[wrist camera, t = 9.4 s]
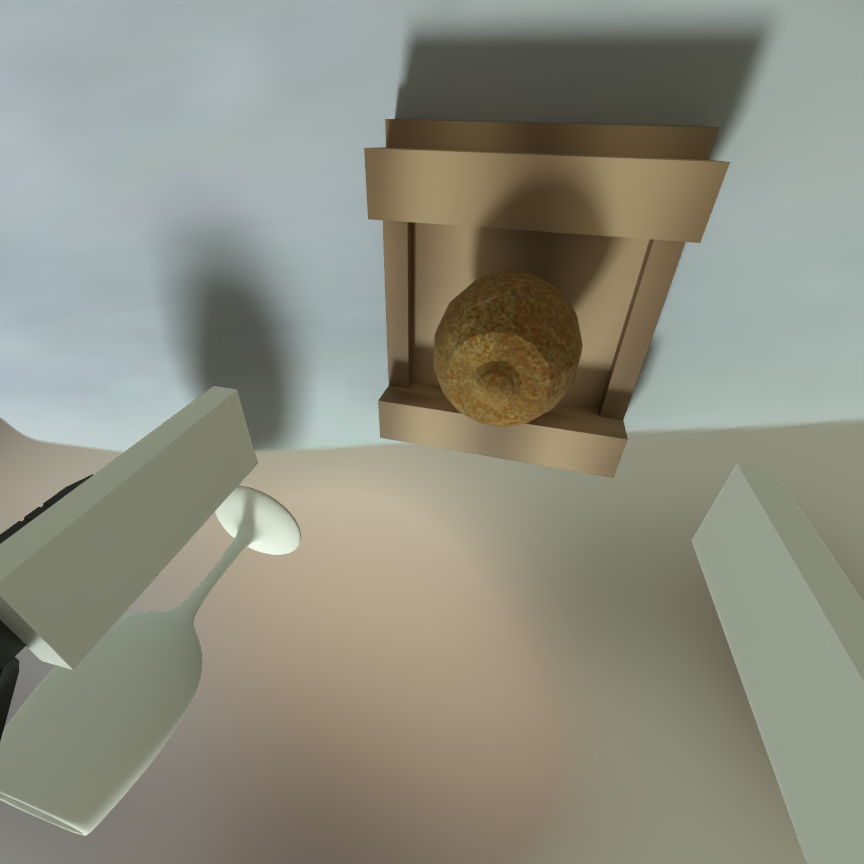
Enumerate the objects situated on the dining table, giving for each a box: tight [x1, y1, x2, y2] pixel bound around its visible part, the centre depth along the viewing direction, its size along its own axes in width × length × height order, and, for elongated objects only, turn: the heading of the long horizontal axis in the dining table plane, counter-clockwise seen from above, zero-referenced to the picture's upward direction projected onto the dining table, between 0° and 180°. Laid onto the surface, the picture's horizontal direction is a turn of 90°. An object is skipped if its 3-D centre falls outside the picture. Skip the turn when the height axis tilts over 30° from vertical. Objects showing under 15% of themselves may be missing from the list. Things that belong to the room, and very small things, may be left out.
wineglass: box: [0, 486, 301, 835], centre depth 30 cm, size 9×9×21 cm
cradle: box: [364, 119, 730, 477], centre depth 21 cm, size 13×16×4 cm
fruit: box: [434, 271, 583, 427], centre depth 18 cm, size 6×6×8 cm
